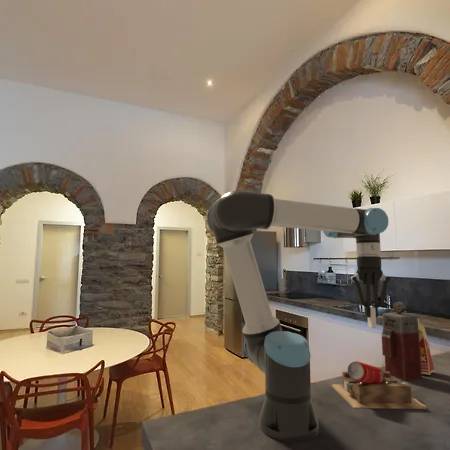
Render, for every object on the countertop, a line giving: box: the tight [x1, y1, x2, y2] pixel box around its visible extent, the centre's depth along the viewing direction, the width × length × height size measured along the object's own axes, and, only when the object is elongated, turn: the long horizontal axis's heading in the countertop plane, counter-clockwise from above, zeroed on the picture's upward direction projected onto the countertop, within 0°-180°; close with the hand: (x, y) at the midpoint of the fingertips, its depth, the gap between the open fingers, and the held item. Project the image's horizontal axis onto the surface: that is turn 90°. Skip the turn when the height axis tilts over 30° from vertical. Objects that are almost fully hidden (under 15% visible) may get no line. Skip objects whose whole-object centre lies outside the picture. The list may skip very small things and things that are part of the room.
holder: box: [331, 370, 428, 410], centre depth 106 cm, size 22×18×6 cm
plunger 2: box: [385, 379, 409, 385], centre depth 106 cm, size 7×2×2 cm, turn 92°
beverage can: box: [347, 360, 385, 384], centre depth 103 cm, size 6×6×15 cm
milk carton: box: [418, 318, 436, 376], centre depth 133 cm, size 9×9×20 cm
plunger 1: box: [344, 381, 365, 391], centre depth 105 cm, size 7×2×2 cm, turn 92°
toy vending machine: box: [381, 301, 422, 382], centre depth 128 cm, size 9×11×28 cm
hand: (372, 327), depth 108 cm, fingers closed
